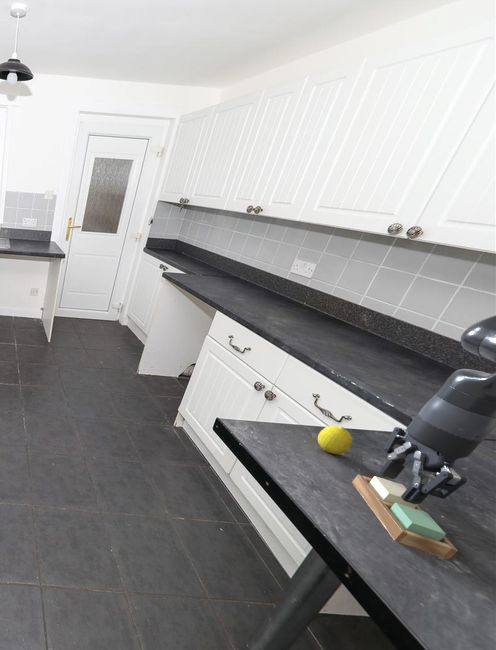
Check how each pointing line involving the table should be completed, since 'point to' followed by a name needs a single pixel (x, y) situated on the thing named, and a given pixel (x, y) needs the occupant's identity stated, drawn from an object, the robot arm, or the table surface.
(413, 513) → the sage pad
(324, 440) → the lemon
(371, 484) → the cream pad
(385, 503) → the pad holder
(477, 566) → the table surface
